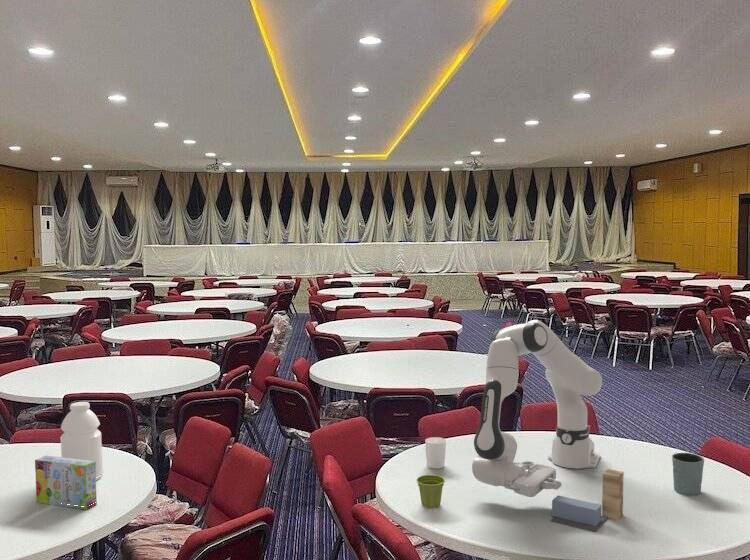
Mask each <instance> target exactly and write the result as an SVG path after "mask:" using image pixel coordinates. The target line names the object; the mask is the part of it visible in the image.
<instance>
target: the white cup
mask: <svg viewBox="0 0 750 560" xmlns="http://www.w3.org/2000/svg"><path fill="white" fill-rule="evenodd" d="M424 440H425V441H424V442H425V446H424V447H425V458H426V467H428V468H430V469H433V470H434V469H435V470H437V469H442V468H444V467H445V462H446V461H445V460H446V446H447V445H446V444H447V439H445V438H444V437H437V436H436V437H434V436H433V437H427V438H426V439H424Z"/></svg>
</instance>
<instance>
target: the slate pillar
mask: <svg viewBox="0 0 750 560" xmlns="http://www.w3.org/2000/svg"><path fill="white" fill-rule="evenodd" d="M551 502H552V503H551V516H553V517H555V516H556V517H560V518H564V519H568V520H572V521H577V522H581V523H585V524H589V525H593V526H596V525H597V524H598V523H599V522H600V521H601V516H602V504H600V503H599V504H598V503H594V502H590V501H586V500H585V501H584V500H581V499H577V498H571V497H567V496H563V495H556V497H554V498H553V499H552V501H551Z"/></svg>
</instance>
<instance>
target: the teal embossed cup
mask: <svg viewBox="0 0 750 560" xmlns="http://www.w3.org/2000/svg"><path fill="white" fill-rule="evenodd" d="M671 458H672V459H671V460H672V476H673V489H674V491H675V492H676V493H677V494H680V495H685V496H698V495H701V494H702V482H703V473H704V472H703V470H704V464H705V458H704V457H703V456H701V455H698V454H695V453H693V452H691V453H690V452H677V453H673V454H672V455H671Z"/></svg>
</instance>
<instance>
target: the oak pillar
mask: <svg viewBox="0 0 750 560" xmlns="http://www.w3.org/2000/svg"><path fill="white" fill-rule="evenodd" d="M624 475H625V474H624V471H621V470H616V469H610V468H607V469H606V470H605V471H603V473H602V494H601V495H602V499H601V503H602V504H601V516H604V517H608V519H611V520H612V519H613V520H615V521H619V520H620V518H621V517H622V516H623V515H624V513H623V512H624V511H623V509H624V478H625V477H624Z"/></svg>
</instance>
